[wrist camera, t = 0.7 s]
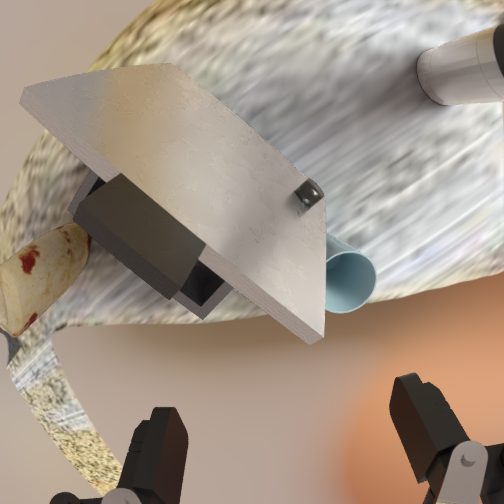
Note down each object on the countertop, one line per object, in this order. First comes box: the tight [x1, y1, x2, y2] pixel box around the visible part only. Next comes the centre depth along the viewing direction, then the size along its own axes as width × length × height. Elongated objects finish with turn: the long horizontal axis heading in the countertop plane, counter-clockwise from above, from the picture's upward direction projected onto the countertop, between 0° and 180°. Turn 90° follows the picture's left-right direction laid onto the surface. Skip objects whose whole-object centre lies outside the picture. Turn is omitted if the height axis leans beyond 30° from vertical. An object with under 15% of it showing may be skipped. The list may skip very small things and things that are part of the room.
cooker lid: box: [19, 63, 326, 345], centre depth 19 cm, size 21×20×2 cm
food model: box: [0, 223, 91, 337], centre depth 32 cm, size 10×7×20 cm
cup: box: [325, 234, 377, 313], centre depth 38 cm, size 8×8×10 cm
